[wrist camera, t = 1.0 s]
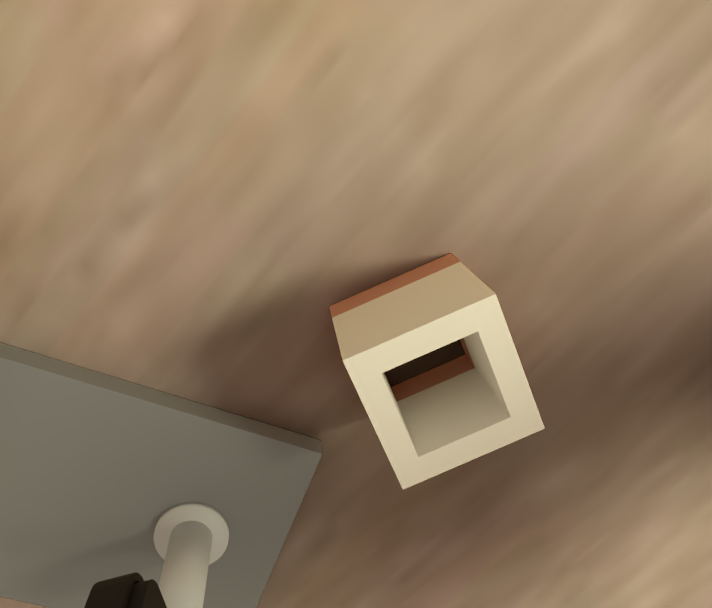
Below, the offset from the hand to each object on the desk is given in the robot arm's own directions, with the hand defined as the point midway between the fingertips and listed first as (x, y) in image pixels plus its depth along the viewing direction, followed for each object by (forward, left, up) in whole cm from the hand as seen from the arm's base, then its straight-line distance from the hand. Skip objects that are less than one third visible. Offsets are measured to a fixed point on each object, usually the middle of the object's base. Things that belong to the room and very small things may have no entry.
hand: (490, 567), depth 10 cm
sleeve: (-4, +2, -19) cm, 20 cm away
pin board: (+7, +14, -19) cm, 25 cm away
